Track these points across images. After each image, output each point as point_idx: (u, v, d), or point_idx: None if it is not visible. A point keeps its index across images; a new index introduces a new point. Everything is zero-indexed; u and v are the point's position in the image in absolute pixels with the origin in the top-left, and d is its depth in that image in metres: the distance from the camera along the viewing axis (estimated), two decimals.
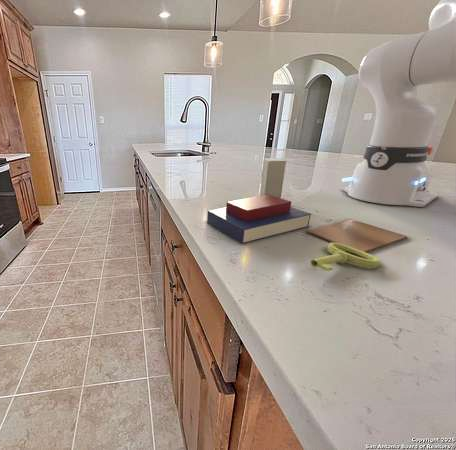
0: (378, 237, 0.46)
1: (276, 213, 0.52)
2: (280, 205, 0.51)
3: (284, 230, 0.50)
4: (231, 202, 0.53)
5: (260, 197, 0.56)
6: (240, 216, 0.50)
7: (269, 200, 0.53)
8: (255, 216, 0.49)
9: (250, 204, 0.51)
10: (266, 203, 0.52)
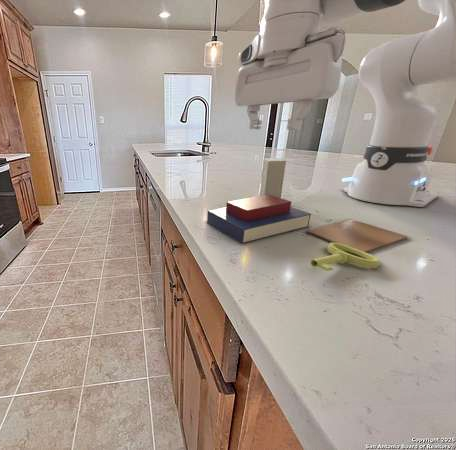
0: (378, 237, 0.46)
1: (276, 213, 0.52)
2: (280, 205, 0.51)
3: (284, 230, 0.50)
4: (231, 202, 0.53)
5: (260, 197, 0.56)
6: (240, 216, 0.50)
7: (269, 200, 0.53)
8: (255, 216, 0.49)
9: (250, 204, 0.51)
10: (266, 203, 0.52)
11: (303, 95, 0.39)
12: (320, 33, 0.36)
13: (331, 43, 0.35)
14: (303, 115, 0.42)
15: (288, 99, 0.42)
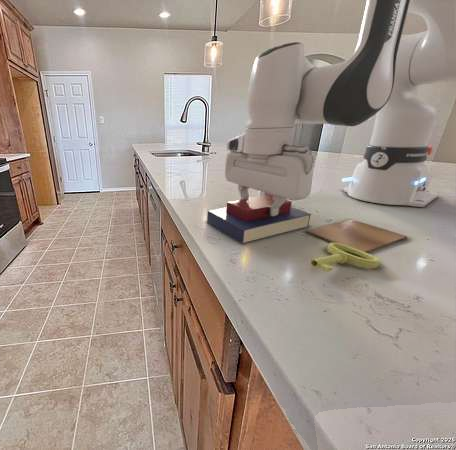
0: (378, 237, 0.46)
1: None
2: None
3: (284, 230, 0.50)
4: (231, 202, 0.53)
5: (260, 197, 0.56)
6: (240, 216, 0.50)
7: (269, 200, 0.53)
8: (255, 216, 0.49)
9: (250, 204, 0.51)
10: (266, 203, 0.52)
11: (281, 194, 0.45)
12: (294, 147, 0.42)
13: (302, 159, 0.41)
14: (279, 205, 0.48)
15: (269, 193, 0.48)
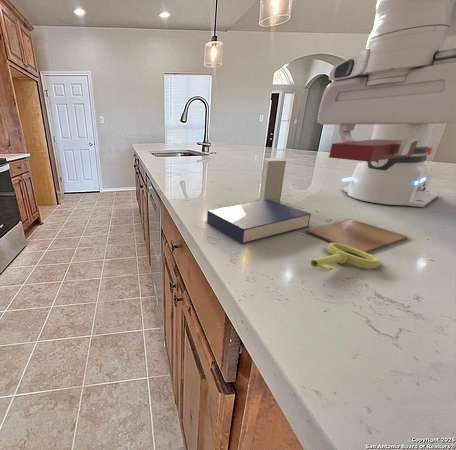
0: (378, 237, 0.46)
1: (400, 155, 0.41)
2: None
3: (284, 230, 0.50)
4: (339, 143, 0.42)
5: (368, 140, 0.45)
6: (358, 157, 0.39)
7: (386, 141, 0.42)
8: (380, 155, 0.39)
9: (367, 143, 0.40)
10: (387, 142, 0.41)
11: (429, 119, 0.34)
12: None
13: None
14: (414, 139, 0.38)
15: (404, 122, 0.37)
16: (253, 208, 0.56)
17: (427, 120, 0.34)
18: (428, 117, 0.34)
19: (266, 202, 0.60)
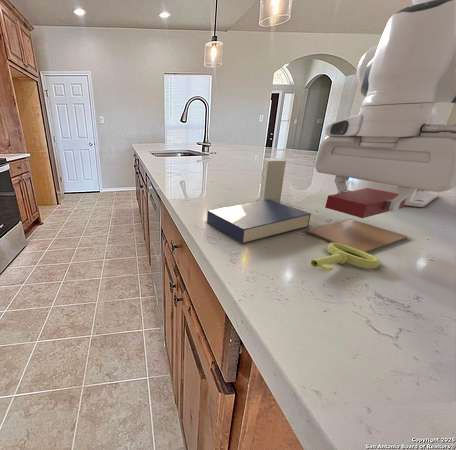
0: (378, 237, 0.46)
1: None
2: None
3: (284, 230, 0.50)
4: (334, 196, 0.45)
5: (362, 190, 0.48)
6: (352, 212, 0.42)
7: (378, 194, 0.45)
8: (372, 212, 0.42)
9: (361, 198, 0.43)
10: (379, 197, 0.44)
11: (417, 185, 0.37)
12: (443, 126, 0.35)
13: None
14: (403, 199, 0.41)
15: (394, 183, 0.40)
16: (253, 208, 0.56)
17: (415, 186, 0.37)
18: (415, 183, 0.37)
19: (266, 202, 0.60)
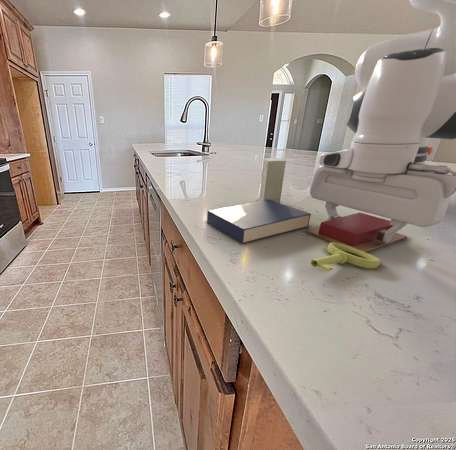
0: None
1: None
2: (386, 227, 0.45)
3: (284, 230, 0.50)
4: (327, 223, 0.47)
5: (354, 216, 0.50)
6: (343, 240, 0.45)
7: (369, 220, 0.48)
8: (362, 240, 0.44)
9: (352, 226, 0.46)
10: (369, 224, 0.46)
11: (404, 219, 0.39)
12: (427, 166, 0.37)
13: (442, 181, 0.36)
14: (396, 230, 0.42)
15: (383, 216, 0.42)
16: (253, 208, 0.56)
17: (402, 219, 0.40)
18: (403, 217, 0.39)
19: (266, 202, 0.60)
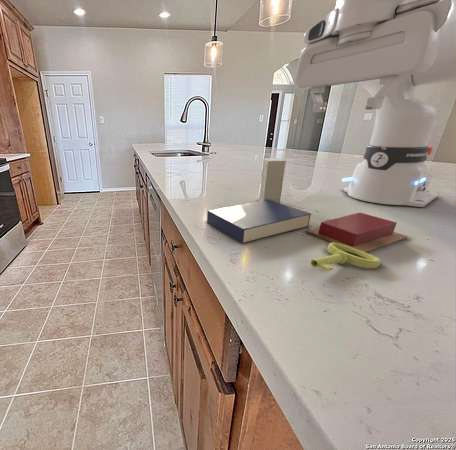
0: None
1: (381, 236, 0.46)
2: (386, 227, 0.45)
3: (284, 229, 0.50)
4: (327, 223, 0.47)
5: (354, 216, 0.50)
6: (343, 240, 0.45)
7: (369, 220, 0.48)
8: (362, 240, 0.44)
9: (352, 226, 0.46)
10: (369, 224, 0.46)
11: (392, 70, 0.37)
12: (416, 1, 0.34)
13: (432, 11, 0.33)
14: (386, 93, 0.39)
15: (370, 76, 0.39)
16: (253, 208, 0.56)
17: (390, 71, 0.37)
18: (391, 68, 0.37)
19: (266, 202, 0.60)
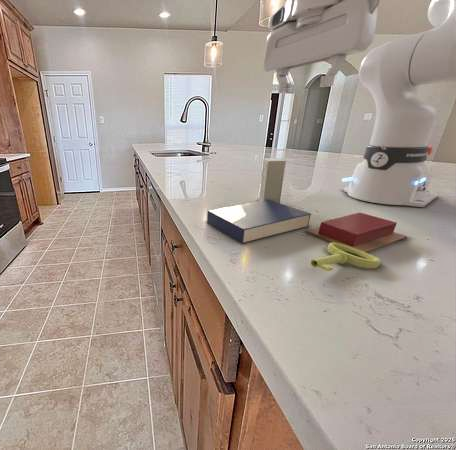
0: None
1: (381, 236, 0.46)
2: (386, 227, 0.45)
3: (284, 230, 0.50)
4: (327, 223, 0.47)
5: (354, 216, 0.50)
6: (343, 240, 0.45)
7: (369, 220, 0.48)
8: (362, 240, 0.44)
9: (352, 226, 0.46)
10: (369, 224, 0.46)
11: (338, 49, 0.41)
12: None
13: None
14: (336, 71, 0.44)
15: (322, 56, 0.44)
16: (253, 208, 0.56)
17: (336, 50, 0.41)
18: (337, 48, 0.41)
19: (266, 202, 0.60)
